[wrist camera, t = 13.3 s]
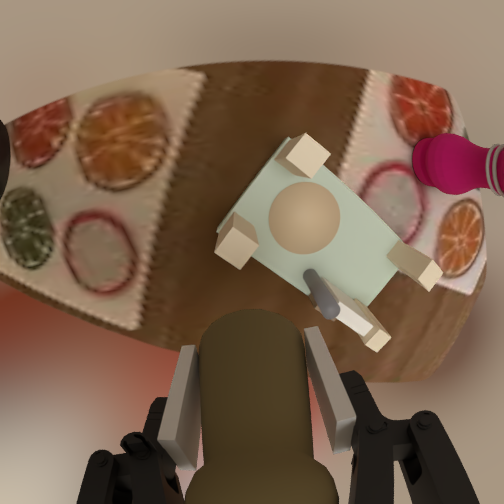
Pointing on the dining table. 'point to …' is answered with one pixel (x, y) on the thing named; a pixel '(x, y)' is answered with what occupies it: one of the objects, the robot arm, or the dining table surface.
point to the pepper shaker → (256, 416)
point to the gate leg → (359, 318)
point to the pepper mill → (459, 165)
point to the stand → (316, 231)
